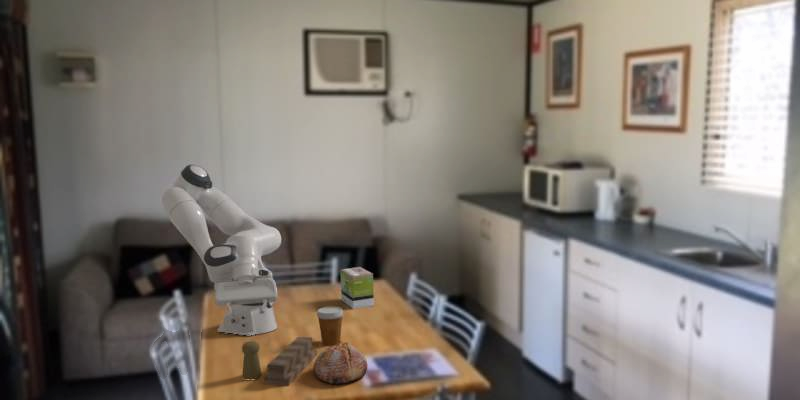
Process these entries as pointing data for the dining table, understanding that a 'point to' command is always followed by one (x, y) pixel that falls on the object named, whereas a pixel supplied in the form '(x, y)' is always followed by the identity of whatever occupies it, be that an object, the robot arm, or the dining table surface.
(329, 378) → the bread
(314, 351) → the ridge stand
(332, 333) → the disposable coffee cup
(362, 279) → the tea box
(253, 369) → the olive pawn
